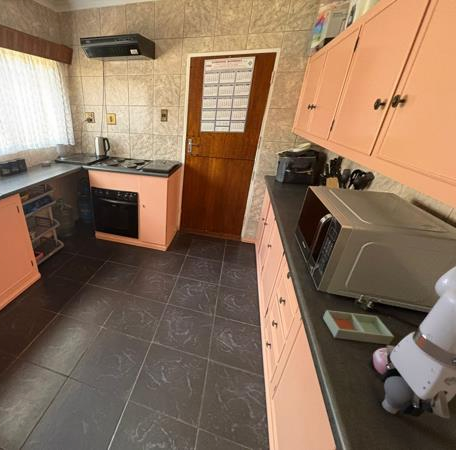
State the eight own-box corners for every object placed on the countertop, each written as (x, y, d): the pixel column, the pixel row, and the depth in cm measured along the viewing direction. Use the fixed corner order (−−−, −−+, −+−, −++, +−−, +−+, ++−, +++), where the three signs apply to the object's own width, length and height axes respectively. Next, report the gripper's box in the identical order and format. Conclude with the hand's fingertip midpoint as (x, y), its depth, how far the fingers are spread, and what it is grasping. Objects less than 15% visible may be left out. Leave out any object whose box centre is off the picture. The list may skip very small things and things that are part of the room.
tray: (372, 323, 82) (376, 315, 80) (389, 344, 75) (394, 336, 73) (322, 317, 84) (326, 309, 82) (334, 337, 77) (338, 329, 75)
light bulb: (411, 422, 56) (435, 398, 52) (386, 423, 56) (407, 398, 52) (389, 395, 62) (409, 370, 57) (366, 395, 62) (384, 370, 57)
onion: (362, 355, 71) (373, 338, 68) (393, 361, 70) (405, 344, 67) (378, 383, 64) (391, 365, 61) (412, 390, 63) (427, 373, 60)
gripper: (511, 394, 41) (449, 446, 49) (425, 314, 56) (389, 364, 64) (460, 387, 41) (408, 439, 50) (389, 310, 57) (358, 359, 65)
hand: (397, 396), depth 57 cm, fingers closed on light bulb, 6 cm apart
